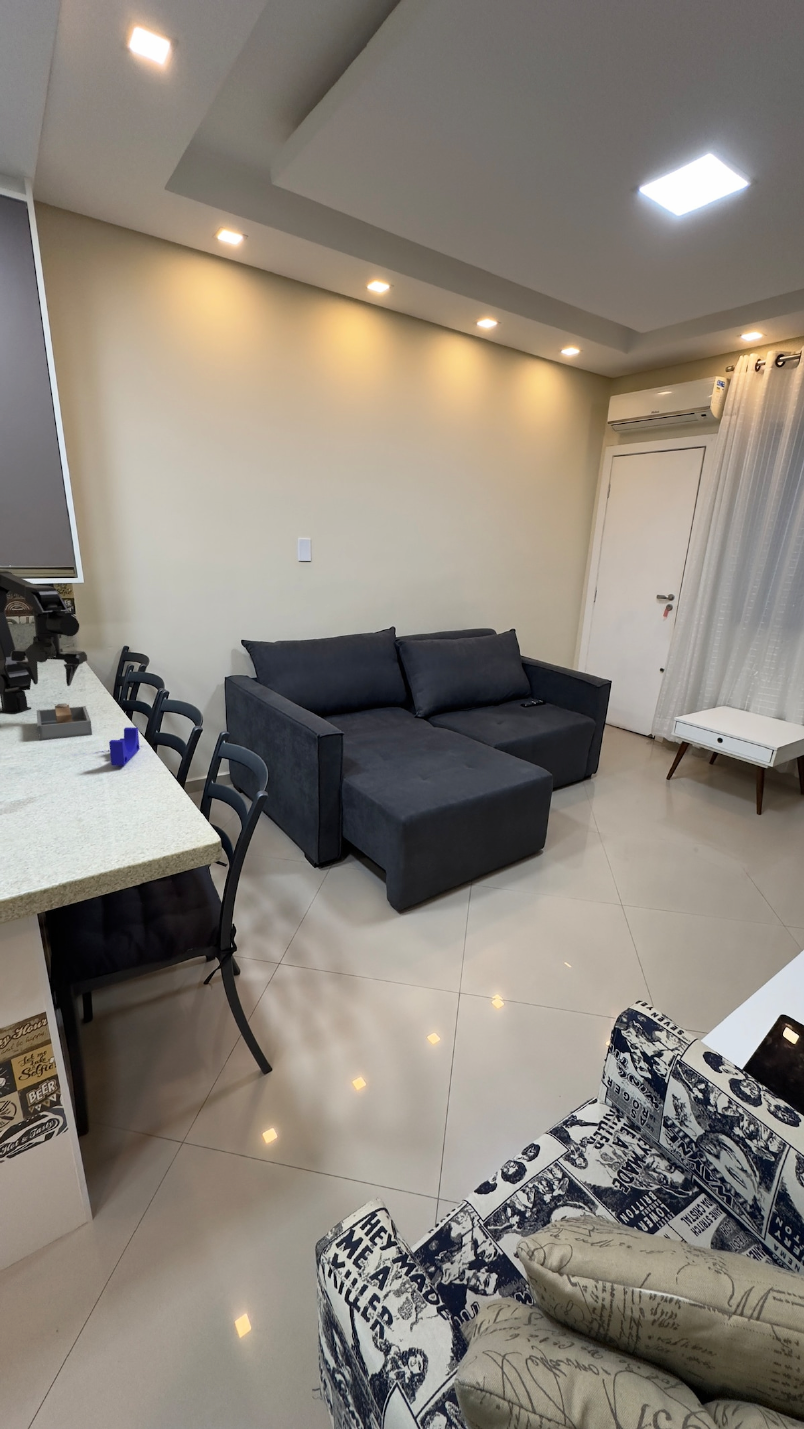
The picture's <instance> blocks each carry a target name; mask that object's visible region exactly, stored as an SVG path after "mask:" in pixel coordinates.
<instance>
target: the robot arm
mask: <svg viewBox="0 0 804 1429" xmlns="http://www.w3.org/2000/svg"><path fill="white" fill-rule="evenodd" d="M10 593H13V594H15V595H18V596H19V597H21V598H23V599H24V602H25V603H26V604H27V605H28V606H29V607H31V608H32V609H31V610H29V612H28V614H29V615H30V616H33V622H34V623H33V624H34V632H35V635H34V636H33V639H32V644H30V645H29V646H27V647H25V648H24V647H20V648H18V649H17V648H16V647H15V643H14V638H13V636H12V632H11V630H10V626H9V622H8V618H7V615H6V607H7V604H8V595H9V594H10ZM67 607H68V606H67V604H66V603H65V601H64V600H63V598H62V596H61V594H60V593H59V591H58V590H57V589H56V588H55V587H53V586H48V585H42V584H41V585H39V584H35V583H33V582H31V581H28V580H26V579H24V578H22V577H20V576H17V575H15V574H13V573H12V572H11V571H8V570H0V705H1V709H0V713H5V714H14V715H15V714H18V713H21V712H25V711H28V710H31V709H32V706H28V700H27V699H28V698H27V696H26V692H25V691H30V690H31V685H32V682H33V684H34V686H35V685H37V684H39V683H38V682H39V673H38V672H39V671H38V663H46V662H47V661H48V660H58V661H64V662H65V663H64V664H63V667H64V668H65V678H66V680H65V681H66V686H67V687H70V686H71V684H72V681H73V679H74V676H75V674H76V671H77V670H78V668H79V666H80V665H82V664H83V663H85V662H87V661H88V654H86V652H85V651H82V650H71V651H68V652H66V653H63V652H64V650H63V648H62V647H61V642H60V639H62V636H65V637H73V636H75V635H77V634H78V633H79V631H80V623H79V621H78V619H77V618H76V617H75V616H73V614H72V611H69V608H67Z"/></svg>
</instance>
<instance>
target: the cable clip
mask: <svg viewBox="0 0 804 1429" xmlns="http://www.w3.org/2000/svg"><path fill="white" fill-rule="evenodd" d="M108 744H109V754H110V764H111V766H125V765H127V763H128V762H129V761H130V760H131V759H132V758H133V757H134V756H135V755H136V754H137V753H138V752H139V750H140V749H141V748H140V737H139V727H130V726H129V727H124V728H123V738H120V739H111V740H109V742H108Z"/></svg>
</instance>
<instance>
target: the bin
mask: <svg viewBox="0 0 804 1429" xmlns="http://www.w3.org/2000/svg"><path fill="white" fill-rule="evenodd" d="M69 707H70V706H69ZM70 711H71V714H72V722H68V723H58V724H57V721H56V713H55V708H49V709H39V710H36V720H37V731H38V732H37V733H38V739H39V741H47V740H48V741H49V740H55V739H56V740H57V739H68V738H75V737H76V738H77V737H82V736H83V737H84V736H86V737H87V736H91V735H93V729H92V728H93V727H92V720H91V718H90V715H89V712H88V709H87V707H86V705H82V706H72V707H70Z"/></svg>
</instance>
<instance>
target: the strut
mask: <svg viewBox="0 0 804 1429" xmlns="http://www.w3.org/2000/svg"><path fill="white" fill-rule="evenodd" d="M54 709H55V713H56V721H57V724H58V723H68V722H72V714H71V711H70V705H69V704H68V703H58V704H56V705H54Z"/></svg>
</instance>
